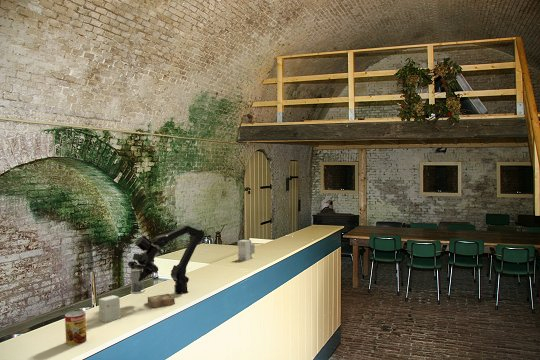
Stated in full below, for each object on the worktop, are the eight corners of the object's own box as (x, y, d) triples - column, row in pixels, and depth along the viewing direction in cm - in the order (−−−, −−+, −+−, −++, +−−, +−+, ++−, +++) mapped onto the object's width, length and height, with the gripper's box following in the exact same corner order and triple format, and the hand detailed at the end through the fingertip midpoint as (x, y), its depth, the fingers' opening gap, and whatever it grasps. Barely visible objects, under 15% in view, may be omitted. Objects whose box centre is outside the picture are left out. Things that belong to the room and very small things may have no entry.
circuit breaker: (255, 257, 359) (255, 238, 359) (245, 260, 347) (245, 241, 347) (248, 256, 363) (247, 238, 363) (238, 259, 351) (237, 241, 351)
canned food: (76, 346, 180) (75, 317, 180) (61, 344, 183) (60, 315, 183) (90, 339, 187) (89, 311, 187) (76, 337, 190) (75, 309, 190)
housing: (142, 289, 242) (141, 266, 242) (145, 292, 236) (144, 269, 235) (129, 291, 238) (128, 268, 238) (132, 294, 232) (130, 271, 232)
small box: (114, 316, 218) (113, 294, 218) (120, 318, 215) (119, 296, 215) (99, 320, 212) (98, 298, 212) (105, 322, 208) (104, 300, 208)
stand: (168, 299, 245) (168, 293, 245) (174, 304, 235) (174, 298, 235) (147, 302, 240) (147, 297, 240) (153, 307, 230) (152, 302, 229)
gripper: (129, 246, 245) (113, 270, 236) (153, 248, 235) (138, 273, 226) (141, 257, 252) (126, 281, 242) (164, 260, 242) (150, 285, 233)
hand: (135, 280), depth 236 cm, fingers closed on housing, 6 cm apart
